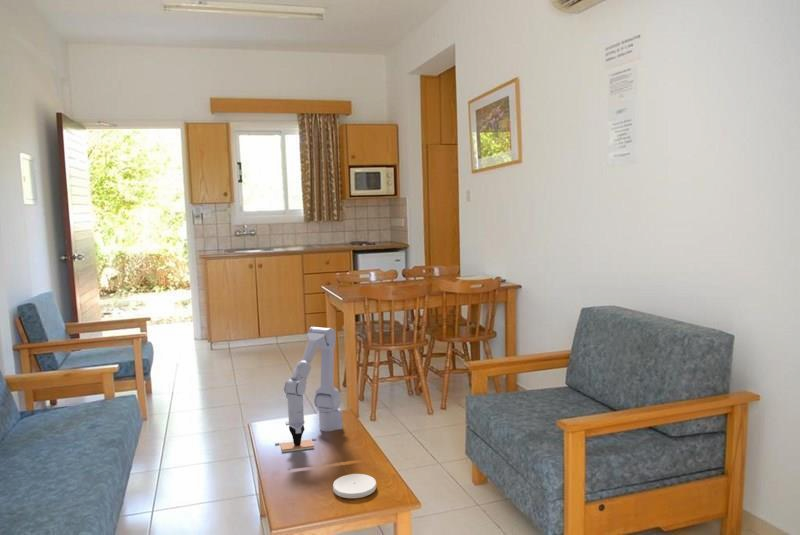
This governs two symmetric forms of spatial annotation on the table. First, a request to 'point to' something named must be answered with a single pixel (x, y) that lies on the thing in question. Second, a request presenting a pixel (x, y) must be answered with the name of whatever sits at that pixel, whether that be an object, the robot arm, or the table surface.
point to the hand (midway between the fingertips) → (297, 445)
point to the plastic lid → (354, 486)
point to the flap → (291, 447)
